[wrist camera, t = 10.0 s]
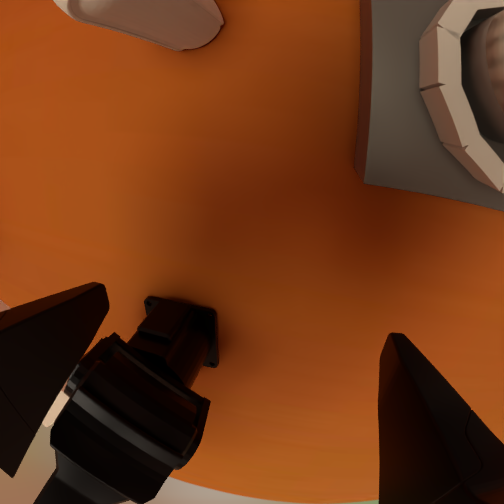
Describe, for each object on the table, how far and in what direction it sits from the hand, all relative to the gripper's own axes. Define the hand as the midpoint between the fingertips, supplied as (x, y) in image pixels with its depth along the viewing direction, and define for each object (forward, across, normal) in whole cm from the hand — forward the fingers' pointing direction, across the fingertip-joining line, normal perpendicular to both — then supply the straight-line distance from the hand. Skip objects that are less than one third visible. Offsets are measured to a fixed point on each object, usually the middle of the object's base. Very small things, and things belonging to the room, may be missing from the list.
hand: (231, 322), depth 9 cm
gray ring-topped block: (+12, -11, -9) cm, 19 cm away
